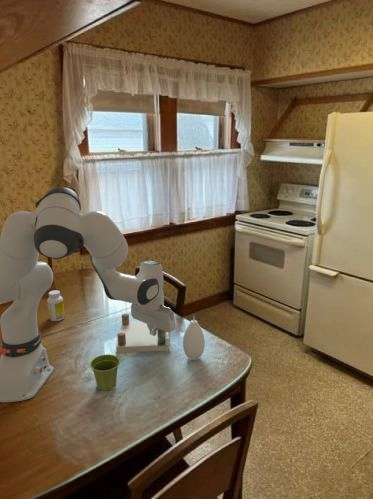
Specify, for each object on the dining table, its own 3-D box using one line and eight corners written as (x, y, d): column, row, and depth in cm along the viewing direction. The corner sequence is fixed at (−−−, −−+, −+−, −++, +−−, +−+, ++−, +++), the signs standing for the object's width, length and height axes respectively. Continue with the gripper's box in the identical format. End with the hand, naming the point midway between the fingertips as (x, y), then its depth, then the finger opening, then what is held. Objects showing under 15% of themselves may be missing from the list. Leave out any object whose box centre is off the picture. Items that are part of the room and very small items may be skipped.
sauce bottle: (186, 366, 131) (186, 321, 125) (180, 354, 138) (180, 311, 133) (207, 362, 133) (207, 318, 127) (200, 351, 140) (201, 308, 135)
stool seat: (170, 351, 140) (169, 336, 138) (116, 353, 139) (115, 338, 137) (169, 325, 160) (168, 311, 158) (121, 326, 158) (121, 313, 156)
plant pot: (108, 372, 127) (107, 350, 125) (127, 383, 122) (125, 361, 119) (86, 386, 120) (84, 363, 118) (104, 398, 115) (102, 374, 112)
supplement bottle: (67, 315, 169) (64, 289, 165) (61, 322, 162) (58, 295, 159) (53, 314, 169) (50, 289, 166) (46, 321, 163) (43, 295, 159)
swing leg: (167, 329, 150) (167, 317, 148) (165, 343, 140) (164, 330, 138) (160, 329, 150) (159, 317, 148) (157, 343, 140) (156, 330, 138)
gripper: (178, 306, 134) (179, 339, 138) (139, 292, 146) (140, 323, 150) (167, 312, 129) (168, 347, 133) (127, 297, 141) (129, 329, 145)
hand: (153, 334), depth 142 cm, fingers closed
